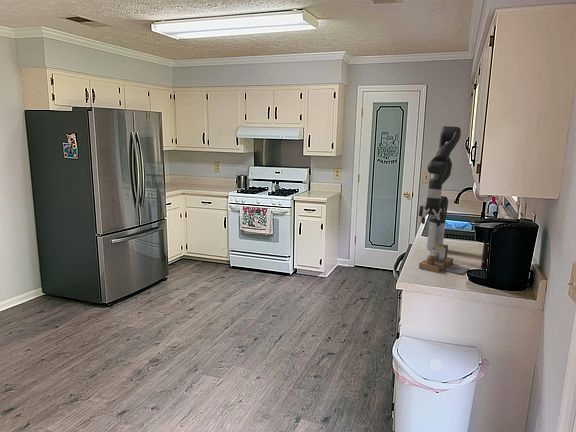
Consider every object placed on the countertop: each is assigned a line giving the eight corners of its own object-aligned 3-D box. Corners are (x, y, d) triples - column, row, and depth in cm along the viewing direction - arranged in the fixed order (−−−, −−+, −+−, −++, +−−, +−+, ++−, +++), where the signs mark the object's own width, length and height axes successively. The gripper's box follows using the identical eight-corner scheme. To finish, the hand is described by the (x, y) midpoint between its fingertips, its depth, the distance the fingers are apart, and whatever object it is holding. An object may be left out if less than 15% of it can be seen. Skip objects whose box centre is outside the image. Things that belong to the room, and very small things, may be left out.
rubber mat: (452, 266, 229) (452, 264, 229) (469, 269, 224) (470, 268, 223) (444, 271, 220) (444, 269, 220) (462, 275, 215) (462, 273, 214)
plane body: (435, 259, 240) (436, 242, 238) (453, 263, 234) (454, 245, 232) (418, 268, 224) (420, 249, 222) (437, 272, 217) (439, 253, 215)
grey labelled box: (435, 257, 233) (436, 244, 231) (444, 259, 230) (445, 246, 228) (429, 260, 227) (430, 247, 225) (438, 262, 224) (439, 249, 222)
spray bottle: (477, 267, 229) (482, 221, 224) (496, 268, 228) (502, 222, 224) (485, 273, 219) (490, 225, 214) (505, 274, 218) (511, 226, 214)
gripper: (448, 198, 240) (445, 226, 242) (424, 195, 249) (421, 222, 251) (444, 198, 235) (440, 227, 237) (419, 195, 244) (415, 223, 246)
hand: (430, 225), depth 244 cm, fingers open, 8 cm apart
